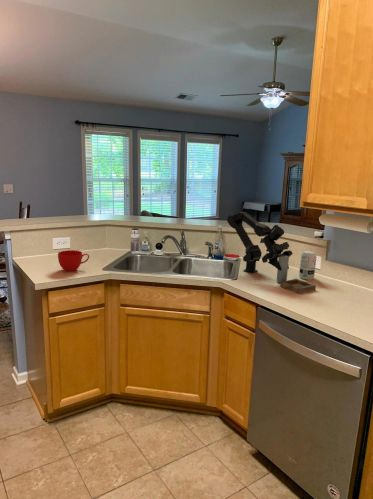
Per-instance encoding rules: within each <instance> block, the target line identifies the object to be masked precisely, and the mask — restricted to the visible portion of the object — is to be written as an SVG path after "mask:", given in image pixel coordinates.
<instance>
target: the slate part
mask: <svg viewBox="0 0 373 499" xmlns="http://www.w3.org/2000/svg"><path fill="white" fill-rule="evenodd" d="M289 259H290V257H288V256H283V255H281V256H279V258H278V262H279V264H280V266H281V269H282V270H281V271H280V270H278V269H277V271H276V272H277V273H276V283H279V284H280V283H281V282H283V281H288V270H289V269H288V265H289V262H290V260H289Z"/></svg>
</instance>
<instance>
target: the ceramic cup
mask: <svg viewBox="0 0 373 499" xmlns="http://www.w3.org/2000/svg"><path fill="white" fill-rule="evenodd" d="M84 256H87V258H86V259H85V260H83V257H84ZM57 258H58V264H59V266H60V267H61V269H62V270H63V271H64V272H66V273H67V272H68V273H69V272H70V273H71V272H77V270H78V269H79V267H81V265H82V264H84V263H86V262H88V260H89V259H90V255H89V254H88V253H83V252H82V251H80V250H72V249H71V250H69V249H68V250H62V251H58V252H57ZM82 260H83V261H82Z"/></svg>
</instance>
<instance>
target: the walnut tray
mask: <svg viewBox="0 0 373 499" xmlns="http://www.w3.org/2000/svg"><path fill="white" fill-rule="evenodd" d="M279 284H280V286H279V287H281V288H283V289H286V290H289V291H291V292H294V293H296V294H299V295H301V294H303V293H307V292H313V291H316V288H317V285H316V284H313V283H310V282H309V281H304V280H303V279H300V278H294V279H293V278H292V279H287V281H283V282H281V283H279Z"/></svg>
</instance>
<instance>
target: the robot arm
mask: <svg viewBox="0 0 373 499" xmlns="http://www.w3.org/2000/svg"><path fill="white" fill-rule="evenodd" d="M226 221H227V224H228V225H229V226H230V227H231V228H233V229H234V230H235V232H236V233H237V236H238V237H239V238H240V241H241V242H242V244H243V247H244V248H245V251H244V253H245V255H244V256H243V257H242V261H243V262H245V269H243V272H247V273H252V274H254V273H257V272H258V269H256V268H257V262H260V260H261V261H262V263H264V264H265V263H267V264H270V265H271V266H273V267H274V268H275V269H277V271H278V270H280V271H281V270H282V269H281V266H280V264H279V262H278V260H279V256H281V255H283V256H288V257H289V258H290V257H291V256H292V255H293V254H294V253H293V252H292V250H290V249H289V248H290V244H289V242H288V241H285V242H282V243H280V244H279V243H276V241H279V240H280V239H281V238H282V237H283V235H284V234H285V230H284V229H283V228H282V227H281V226H279V225H278V224H275V225H273V227H272V228H270V226H268V225H267V224H264V223H261V222H259V221H257V220H256V219H255V218H254V217H252V216H251V215H249V213H248V212H246V211H243V212H242V211H240V212H239V213H237V214H230V215H228V217H227V218H226ZM243 222H244V223H245V224H247V225H248V226H249V227H251V229H253V232H254V234H256V235H257V237H260V242H259V243H260V244H264V246H265V248H266V252H267V253H266V254H264V255H263V256H262V254H263V252H262V249H260V247H259V244H254V243H253V242H252V240H251V238H250V236H249V235H248V233H247V231H246V229H245V228H244V226H243ZM288 249H289V250H288ZM289 266H290V265H289V264H288V270H290V267H289Z"/></svg>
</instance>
